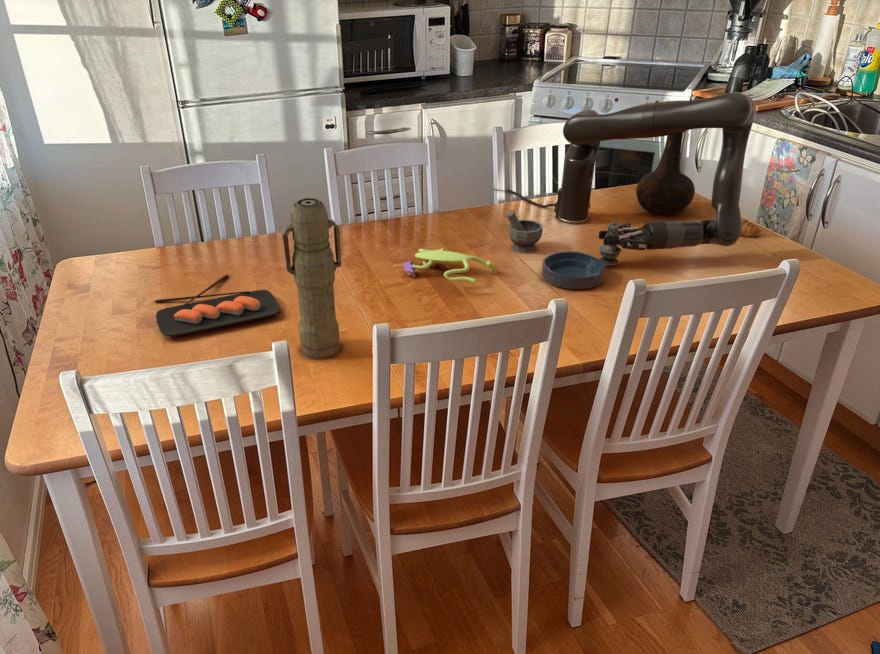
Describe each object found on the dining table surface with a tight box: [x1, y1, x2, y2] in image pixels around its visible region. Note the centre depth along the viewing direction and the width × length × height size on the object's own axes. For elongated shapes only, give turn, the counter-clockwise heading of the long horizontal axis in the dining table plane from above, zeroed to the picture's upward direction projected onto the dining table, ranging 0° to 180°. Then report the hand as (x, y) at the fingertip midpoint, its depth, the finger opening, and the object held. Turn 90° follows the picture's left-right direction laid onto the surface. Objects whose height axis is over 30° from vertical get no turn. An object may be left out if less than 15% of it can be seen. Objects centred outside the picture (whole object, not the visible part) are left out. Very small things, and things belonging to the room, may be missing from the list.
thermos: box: [281, 197, 342, 360], centre depth 157 cm, size 9×12×35 cm
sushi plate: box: [155, 274, 281, 337], centre depth 184 cm, size 29×30×4 cm
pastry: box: [740, 217, 762, 237], centre depth 219 cm, size 9×7×4 cm
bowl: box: [541, 251, 606, 290], centre depth 195 cm, size 16×16×4 cm
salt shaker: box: [598, 219, 622, 266], centre depth 198 cm, size 6×6×12 cm
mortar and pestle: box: [505, 209, 544, 253], centre depth 209 cm, size 11×9×12 cm
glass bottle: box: [635, 131, 696, 216], centre depth 229 cm, size 18×18×28 cm
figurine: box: [402, 247, 499, 285], centre depth 197 cm, size 18×27×6 cm
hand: (601, 238), depth 197 cm, fingers closed on salt shaker, 3 cm apart
